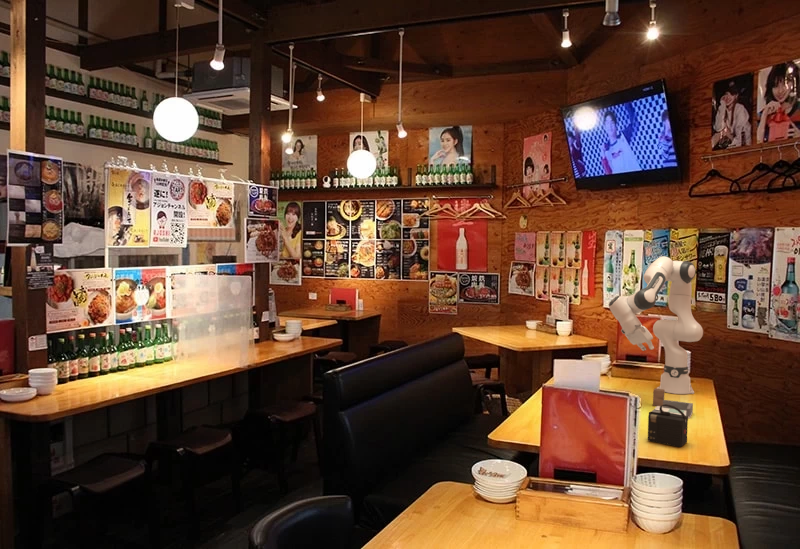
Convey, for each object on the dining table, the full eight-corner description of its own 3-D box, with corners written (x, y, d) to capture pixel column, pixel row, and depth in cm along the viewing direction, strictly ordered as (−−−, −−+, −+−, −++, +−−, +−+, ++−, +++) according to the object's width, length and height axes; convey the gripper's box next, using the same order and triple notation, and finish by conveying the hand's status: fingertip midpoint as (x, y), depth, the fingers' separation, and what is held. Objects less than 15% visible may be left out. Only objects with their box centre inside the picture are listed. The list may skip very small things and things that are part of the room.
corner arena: (656, 407, 313) (657, 398, 312) (692, 412, 304) (692, 403, 304) (652, 413, 302) (653, 404, 302) (689, 418, 294) (690, 409, 293)
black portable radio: (653, 435, 267) (655, 399, 266) (689, 442, 258) (690, 405, 258) (645, 441, 259) (646, 404, 258) (681, 448, 250) (682, 410, 249)
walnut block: (654, 404, 320) (654, 388, 320) (664, 405, 318) (664, 389, 318) (652, 406, 316) (653, 390, 316) (662, 407, 314) (663, 391, 314)
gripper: (645, 320, 309) (662, 344, 307) (629, 325, 329) (645, 347, 327) (635, 327, 309) (652, 351, 307) (619, 331, 329) (635, 354, 327)
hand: (648, 349), depth 317 cm, fingers open, 8 cm apart
